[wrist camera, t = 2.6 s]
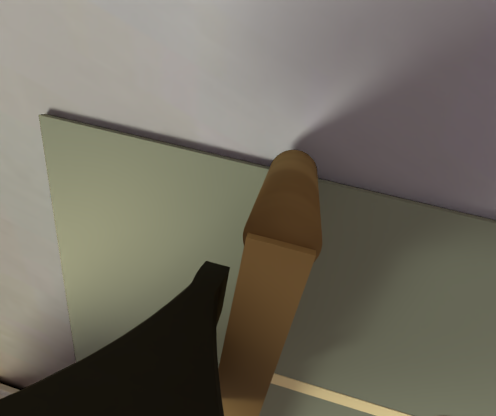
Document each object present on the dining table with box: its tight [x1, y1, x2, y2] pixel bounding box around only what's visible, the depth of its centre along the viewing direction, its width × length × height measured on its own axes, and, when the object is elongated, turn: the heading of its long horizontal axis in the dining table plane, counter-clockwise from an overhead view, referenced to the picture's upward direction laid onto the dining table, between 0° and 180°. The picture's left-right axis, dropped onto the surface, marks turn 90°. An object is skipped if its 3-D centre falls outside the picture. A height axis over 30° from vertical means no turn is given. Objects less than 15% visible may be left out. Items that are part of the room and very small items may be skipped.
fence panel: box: [218, 150, 322, 416], centre depth 10 cm, size 11×2×5 cm, turn 170°
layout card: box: [39, 114, 496, 416], centre depth 15 cm, size 20×22×1 cm
